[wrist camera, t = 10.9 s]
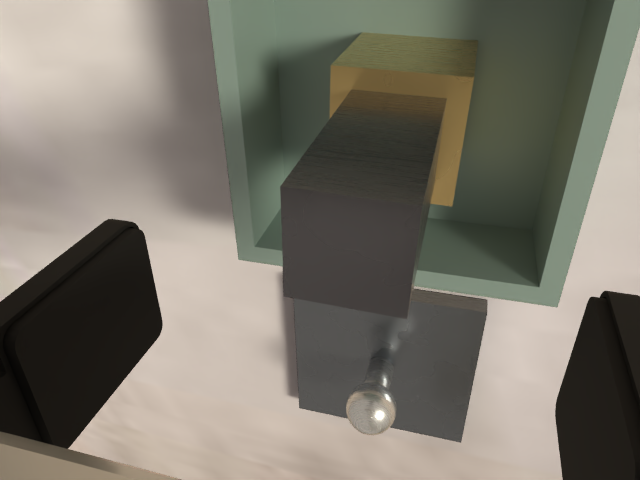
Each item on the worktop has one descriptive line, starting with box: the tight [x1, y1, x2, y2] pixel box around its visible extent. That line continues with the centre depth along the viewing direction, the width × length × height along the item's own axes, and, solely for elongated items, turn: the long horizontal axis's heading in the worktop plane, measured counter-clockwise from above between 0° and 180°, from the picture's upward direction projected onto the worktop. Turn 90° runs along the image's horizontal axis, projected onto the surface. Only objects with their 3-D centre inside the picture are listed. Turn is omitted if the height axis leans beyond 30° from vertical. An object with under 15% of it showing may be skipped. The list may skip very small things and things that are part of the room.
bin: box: [208, 0, 640, 307], centre depth 20 cm, size 13×13×5 cm
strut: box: [280, 32, 478, 319], centre depth 17 cm, size 4×4×12 cm
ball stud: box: [293, 289, 487, 442], centre depth 28 cm, size 10×10×5 cm
